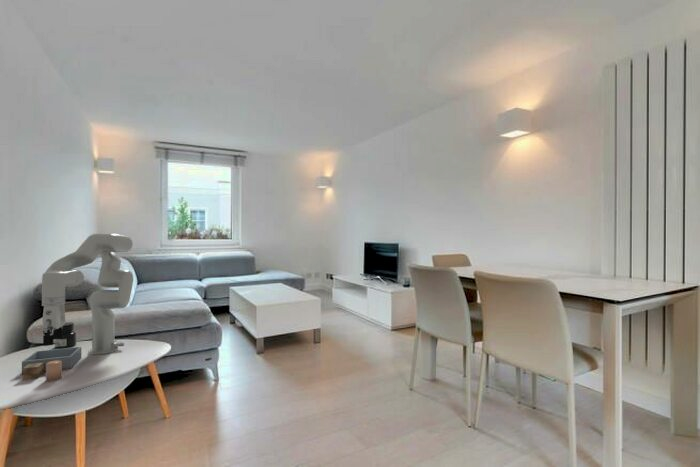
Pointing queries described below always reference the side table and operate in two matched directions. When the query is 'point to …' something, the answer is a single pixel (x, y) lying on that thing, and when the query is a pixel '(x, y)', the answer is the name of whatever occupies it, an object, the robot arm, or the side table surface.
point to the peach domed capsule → (53, 370)
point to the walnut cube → (32, 371)
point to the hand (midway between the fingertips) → (53, 341)
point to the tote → (55, 357)
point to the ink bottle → (67, 336)
